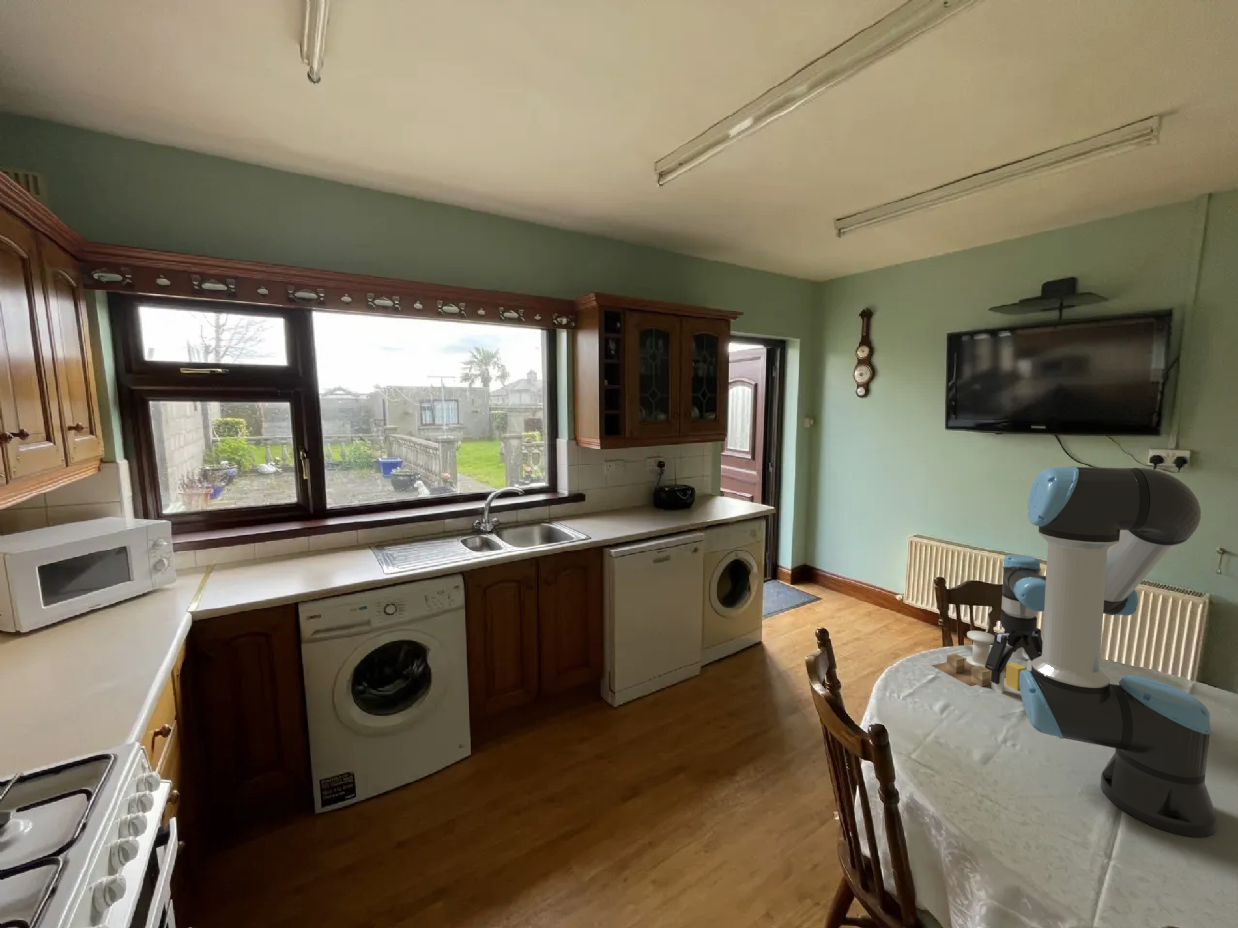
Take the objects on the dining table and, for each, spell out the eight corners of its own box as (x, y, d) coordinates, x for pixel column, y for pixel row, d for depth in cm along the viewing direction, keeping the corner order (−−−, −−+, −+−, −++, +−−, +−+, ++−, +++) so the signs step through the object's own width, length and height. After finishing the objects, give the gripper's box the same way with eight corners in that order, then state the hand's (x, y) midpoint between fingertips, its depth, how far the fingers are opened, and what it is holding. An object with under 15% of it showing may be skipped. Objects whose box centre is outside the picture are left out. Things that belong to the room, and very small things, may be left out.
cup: (1047, 670, 146) (1048, 644, 145) (1015, 668, 147) (1017, 642, 147) (1025, 653, 156) (1026, 628, 156) (996, 651, 158) (997, 627, 157)
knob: (1001, 667, 146) (1002, 638, 145) (983, 671, 144) (984, 642, 143) (977, 656, 153) (979, 629, 152) (960, 660, 151) (961, 632, 150)
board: (1028, 679, 141) (1029, 661, 141) (974, 692, 136) (975, 674, 135) (982, 658, 154) (983, 641, 154) (931, 669, 148) (931, 652, 148)
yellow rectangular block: (1025, 692, 135) (1026, 667, 135) (1016, 694, 134) (1018, 669, 134) (1013, 686, 138) (1014, 662, 137) (1005, 688, 137) (1006, 664, 137)
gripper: (1036, 601, 141) (1032, 674, 143) (970, 614, 134) (967, 690, 136) (1067, 611, 134) (1062, 688, 136) (999, 625, 127) (995, 705, 129)
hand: (1015, 689), depth 136 cm, fingers open, 12 cm apart
